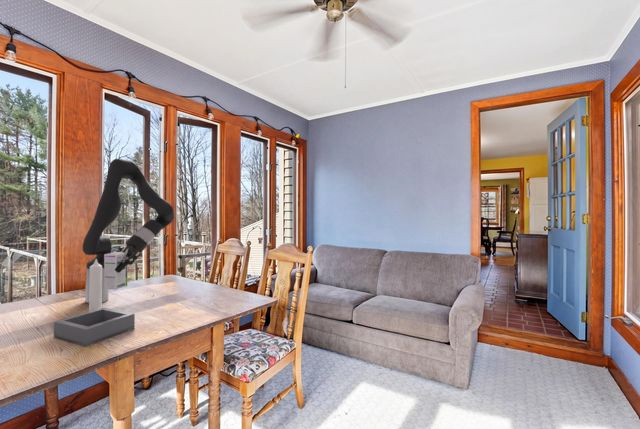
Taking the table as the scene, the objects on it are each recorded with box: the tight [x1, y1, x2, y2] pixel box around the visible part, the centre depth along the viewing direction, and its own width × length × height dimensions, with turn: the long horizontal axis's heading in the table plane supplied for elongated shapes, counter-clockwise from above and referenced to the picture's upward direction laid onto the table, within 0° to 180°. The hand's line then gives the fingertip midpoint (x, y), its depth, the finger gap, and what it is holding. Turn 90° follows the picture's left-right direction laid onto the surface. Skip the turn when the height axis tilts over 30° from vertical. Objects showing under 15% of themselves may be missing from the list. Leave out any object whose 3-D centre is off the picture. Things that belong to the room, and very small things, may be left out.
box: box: [53, 307, 136, 348], centre depth 117 cm, size 18×18×6 cm
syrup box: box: [104, 251, 128, 291], centre depth 126 cm, size 6×6×14 cm
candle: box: [88, 259, 103, 312], centre depth 136 cm, size 7×7×25 cm
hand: (111, 270), depth 125 cm, fingers closed on syrup box, 7 cm apart
